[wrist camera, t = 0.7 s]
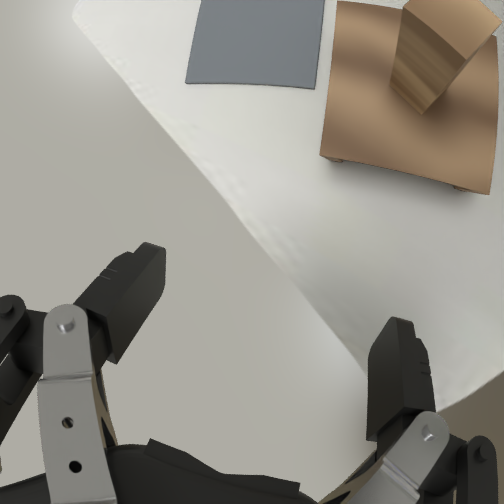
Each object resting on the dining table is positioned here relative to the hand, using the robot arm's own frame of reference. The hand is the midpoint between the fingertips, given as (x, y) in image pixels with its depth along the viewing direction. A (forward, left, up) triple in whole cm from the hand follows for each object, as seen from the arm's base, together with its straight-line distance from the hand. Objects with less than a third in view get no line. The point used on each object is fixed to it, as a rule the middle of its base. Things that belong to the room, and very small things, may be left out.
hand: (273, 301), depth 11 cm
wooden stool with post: (-12, +5, -21) cm, 25 cm away
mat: (-19, -11, -21) cm, 30 cm away
